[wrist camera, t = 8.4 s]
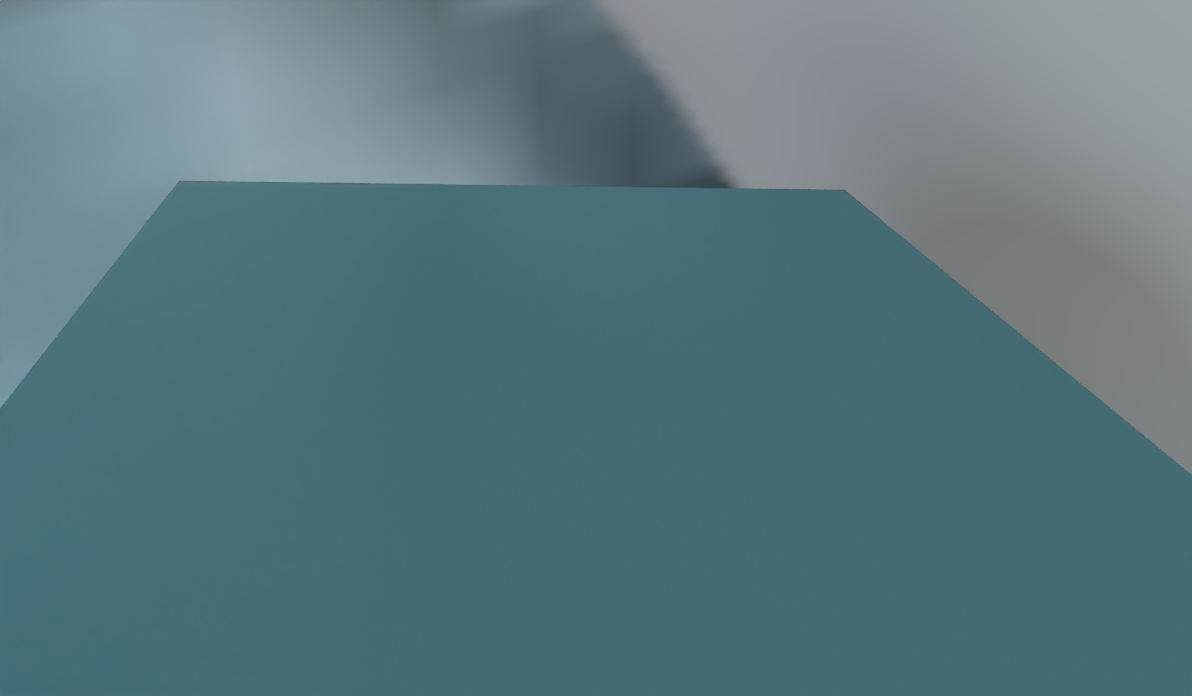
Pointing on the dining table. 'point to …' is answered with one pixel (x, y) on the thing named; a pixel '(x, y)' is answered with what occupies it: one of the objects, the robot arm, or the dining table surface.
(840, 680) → the teal square block
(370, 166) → the dining table surface
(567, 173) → the dining table surface
